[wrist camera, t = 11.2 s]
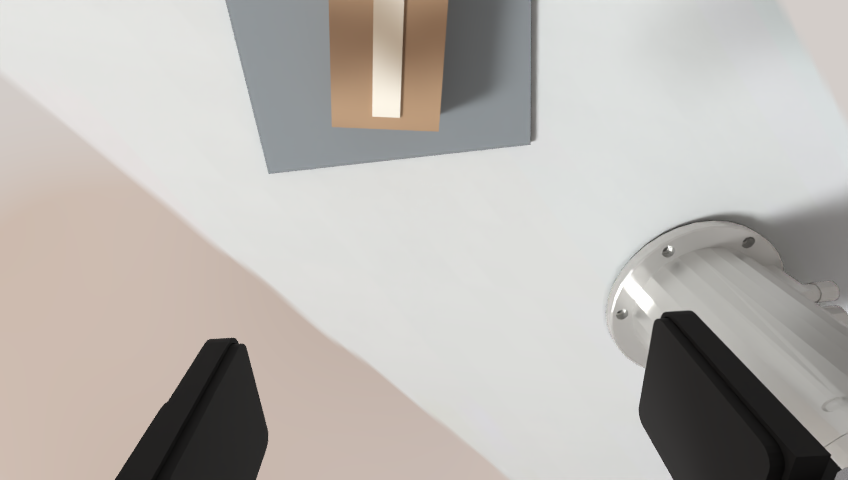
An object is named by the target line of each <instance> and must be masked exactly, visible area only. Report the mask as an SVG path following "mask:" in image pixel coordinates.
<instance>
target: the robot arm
mask: <svg viewBox="0 0 848 480" xmlns="http://www.w3.org/2000/svg"><path fill="white" fill-rule="evenodd" d="M839 294H840V291H839V288H838V286H837V285H836V284H835V283H834V282H832V281H822V282H813V283H809V284H805V285H803V284H801V283H800V282H798V281H797V280H795V279H794V278H792V277H791V276H789V275H788V274H786V273H785V272H784V269H783V263H782V261H781V258H780V256H779V253H778V252H777V250H776V249H775V248H774V247H773V245H772V244H771V243H770V242H769V241H768V240H767V239H765V238H764V237H762V236H761V235H760V234H758V233H757V232H755V231H753V230H751V229H749V228H747V227H746V226H743V225H740V224H736V223H733V222H727V221H705V222H696V223H693V224H689V225H685V226H682V227H678V228H676V229H674V230H672V231H670V232H667V233H665V234H663V235H661V236H659V237H658V238H656V239H655V240H653V241H652V242H650V243H649V244H647V245H646V246H644V247H643V248H642V249H641V250H640V251H639V252H638V253H637V254H635V255H634V256H633V257H632V258H631V259H630V261H629V262H628V263H627V264H626V265H625V267H624V268H623V269H622V270H621V272H620V273H619V275H618V277H617V278H616V280H615V282H614V284H613V286H612V289H611V291H610V294H609V297H608V301H607V308H606V319H607V326H608V329H609V332H610V335H611V337H612V339H613V340H614V342H615V343H616V345H617V347H618V348H619V349H620V351H621V352H622V353H623V354H624V355H625V356H626V357H627V358H628V359H629V360H631V361H632V362H634V363H635V364H637V365H639V366H641V367H643V368H646V369H645V375H644V381H643V387H642V393H641V398H640V404H639V416H640V420H641V423H642V425H643V427H644V429H645V430H646V432H647V434H648V436H649V437H650V439H651V441H652V443H653V444H654V446H655V448H656V450H657V452H658V453H659V455H660V457H661V459H662V460H663V462H664V464H665V466H666V467H667V469H668V471H669V473H670V474H671V476H672V478H673V480H848V315H847V312H846V311H845V310H844V309H843V308H842V307H839V306H837V305H833V306H825V307H821V306H819V305H818V304H816V303H818V302H826V301H833V300H837V299H838V297H839ZM267 444H268V430H267V426H266V422H265V418H264V414H263V411H262V406H261V402H260V398H259V395H258V391H257V387H256V383H255V379H254V375H253V372H252V368H251V364H250V360H249V356H248V352H247V348H246V346H245V345H244V344H239V343H238V341H237V340H236V339H235V338H223V339H210V340H207V342H206V343H205V344H204V346H203V347H202V349H201V350H200V352H199V354H198V355H197V357H196V358H195V360H194V362H193V363H192V365H191V366H190V368H189V369H188V371H187V372H186V374H185V376H184V377H183V379H182V380H181V382H180V384H179V385H178V387H177V388H176V390H175V391H174V393H173V394H172V396H171V398H170V399H169V401H168V402H167V403H165V404H164V405H163V406H162V408H161V409H160V410H159V412H158V414H157V415H156V416H155V418H154V420H153V421H152V423H151V424H150V426H149V427H148V429H147V430H146V432H145V434H144V435H143V437H142V438H141V440H140V441H139V443H138V444H137V446H136V448H135V449H134V451H133V452H132V454H131V455H130V457H129V458H128V460H127V462H126V463H125V465H124V466H123V468H122V470H121V471H120V472H119V474H118V476H117V477H116V479H115V480H256V478H257V475H258V472H259V469H260V466H261V463H262V460H263V457H264V454H265V451H266V448H267Z"/></svg>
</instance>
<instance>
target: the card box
mask: <svg viewBox="0 0 848 480" xmlns="http://www.w3.org/2000/svg"><path fill="white" fill-rule="evenodd" d="M447 11H448V0H329V36H330V75H331V115H332V127H342V128H366V129H389V130H413V131H436V132H439V122H440V108H441V94H442V80H443V66H444V52H445V38H446V25H447Z"/></svg>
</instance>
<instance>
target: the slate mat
mask: <svg viewBox="0 0 848 480" xmlns="http://www.w3.org/2000/svg"><path fill="white" fill-rule="evenodd" d="M226 4H227V8H228V12H229V16H230V20H231V24H232V28H233V32H234V36H235V40H236V44H237V49H238V53H239V57H240V61H241V65H242V69H243V73H244V77H245V81H246V85H247V89H248V93H249V97H250V101H251V105H252V109H253V113H254V117H255V121H256V125H257V129H258V133H259V137H260V141H261V145H262V149H263V153H264V157H265V161H266V165H267V169H268V173H269V174H271V173H280V172H289V171H298V170H307V169H316V168H325V167H334V166H343V165H352V164H361V163H370V162H379V161H388V160H397V159H406V158H415V157H424V156H433V155H441V154H450V153H459V152H468V151H477V150H486V149H495V148H504V147H513V146H522V145H530V136H531V0H448V11H447V25H446V38H445V52H444V66H443V80H442V94H441V108H440V122H439V132H436V131H413V130H389V129H366V128H342V127H332V115H331V75H330V36H329V0H226Z"/></svg>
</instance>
